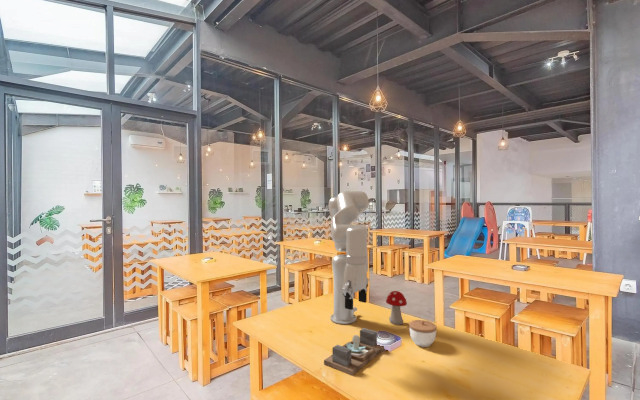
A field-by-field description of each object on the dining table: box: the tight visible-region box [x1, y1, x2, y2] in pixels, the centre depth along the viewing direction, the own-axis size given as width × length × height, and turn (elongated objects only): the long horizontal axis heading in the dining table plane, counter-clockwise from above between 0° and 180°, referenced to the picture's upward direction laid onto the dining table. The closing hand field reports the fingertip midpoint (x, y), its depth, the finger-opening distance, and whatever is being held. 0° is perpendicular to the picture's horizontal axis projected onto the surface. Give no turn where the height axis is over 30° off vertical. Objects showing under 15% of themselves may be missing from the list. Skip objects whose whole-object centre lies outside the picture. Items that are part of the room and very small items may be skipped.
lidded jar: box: [408, 319, 438, 348], centre depth 136 cm, size 11×11×9 cm
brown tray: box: [323, 327, 385, 376], centre depth 125 cm, size 24×12×6 cm, turn 143°
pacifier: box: [347, 334, 366, 356], centre depth 125 cm, size 7×6×6 cm
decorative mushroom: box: [385, 290, 407, 326], centre depth 158 cm, size 10×9×15 cm
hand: (355, 305), depth 125 cm, fingers open, 9 cm apart
